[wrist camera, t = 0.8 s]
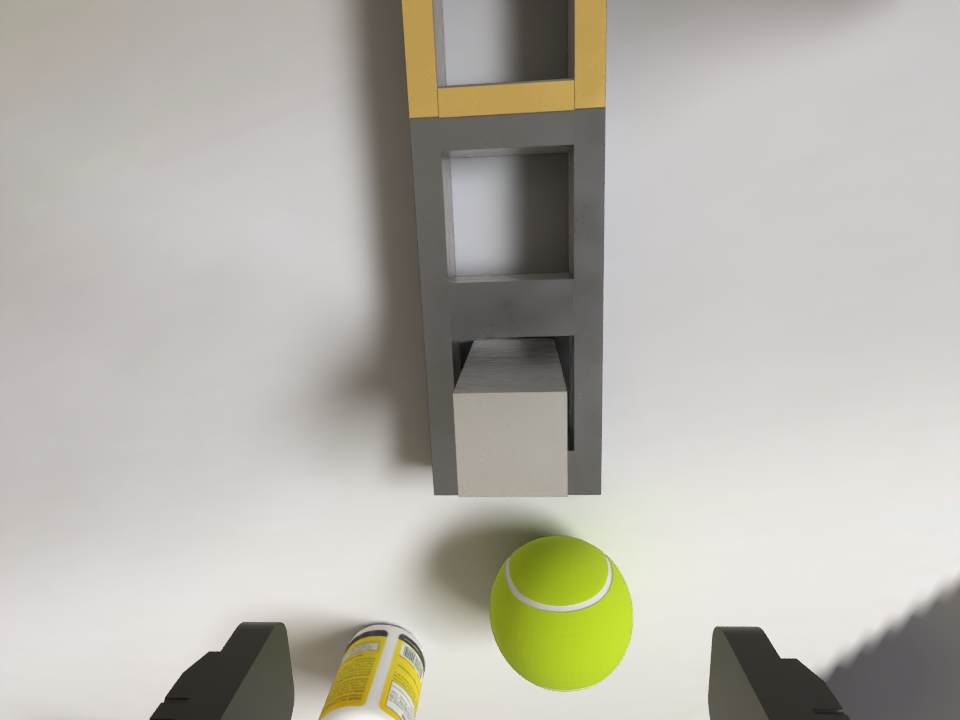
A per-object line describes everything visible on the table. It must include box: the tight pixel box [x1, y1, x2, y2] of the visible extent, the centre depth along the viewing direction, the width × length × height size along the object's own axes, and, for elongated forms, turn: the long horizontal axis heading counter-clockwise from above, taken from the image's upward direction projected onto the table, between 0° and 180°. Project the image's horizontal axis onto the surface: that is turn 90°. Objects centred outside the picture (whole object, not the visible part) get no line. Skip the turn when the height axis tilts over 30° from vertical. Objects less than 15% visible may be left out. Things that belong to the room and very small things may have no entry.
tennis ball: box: [490, 536, 633, 692], centre depth 28 cm, size 7×7×7 cm
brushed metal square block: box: [453, 338, 568, 497], centre depth 25 cm, size 4×4×9 cm
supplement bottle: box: [319, 625, 425, 720], centre depth 30 cm, size 5×5×8 cm
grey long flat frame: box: [402, 0, 607, 495], centre depth 26 cm, size 8×26×3 cm, turn 2°
